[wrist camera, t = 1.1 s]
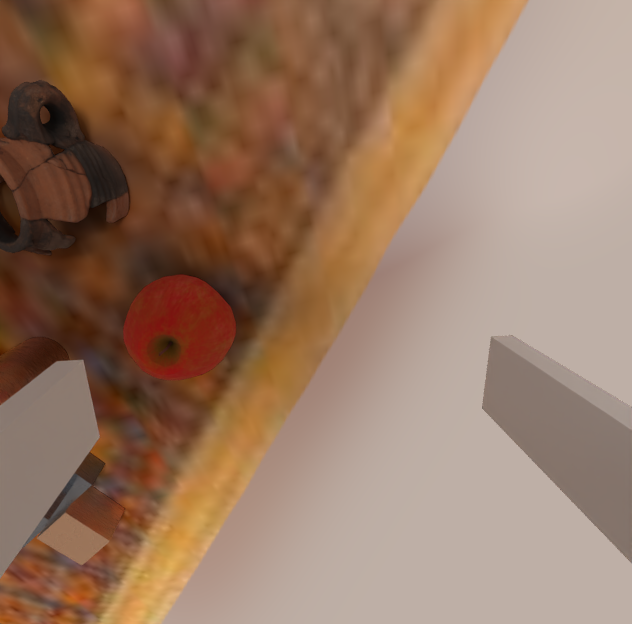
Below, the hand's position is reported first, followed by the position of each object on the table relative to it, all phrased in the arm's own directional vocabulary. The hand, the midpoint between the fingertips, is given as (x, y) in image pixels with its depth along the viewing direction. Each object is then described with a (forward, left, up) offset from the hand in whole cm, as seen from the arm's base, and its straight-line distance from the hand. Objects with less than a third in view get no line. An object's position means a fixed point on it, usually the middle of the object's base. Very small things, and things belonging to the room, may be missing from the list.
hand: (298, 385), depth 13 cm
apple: (-2, -9, -24) cm, 25 cm away
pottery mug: (-17, -8, -24) cm, 30 cm away
